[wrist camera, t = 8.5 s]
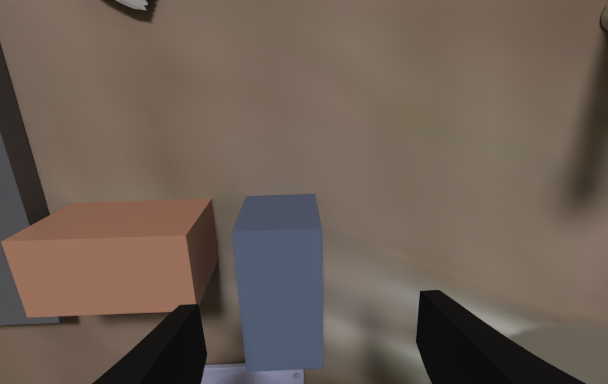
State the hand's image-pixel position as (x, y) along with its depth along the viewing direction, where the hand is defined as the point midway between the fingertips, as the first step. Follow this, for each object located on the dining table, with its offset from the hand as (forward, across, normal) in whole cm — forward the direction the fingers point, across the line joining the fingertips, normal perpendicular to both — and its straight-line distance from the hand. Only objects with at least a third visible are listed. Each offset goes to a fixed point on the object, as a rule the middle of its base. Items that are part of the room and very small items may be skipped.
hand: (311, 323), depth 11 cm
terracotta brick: (+10, +9, +1) cm, 13 cm away
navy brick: (+10, +1, +3) cm, 10 cm away
